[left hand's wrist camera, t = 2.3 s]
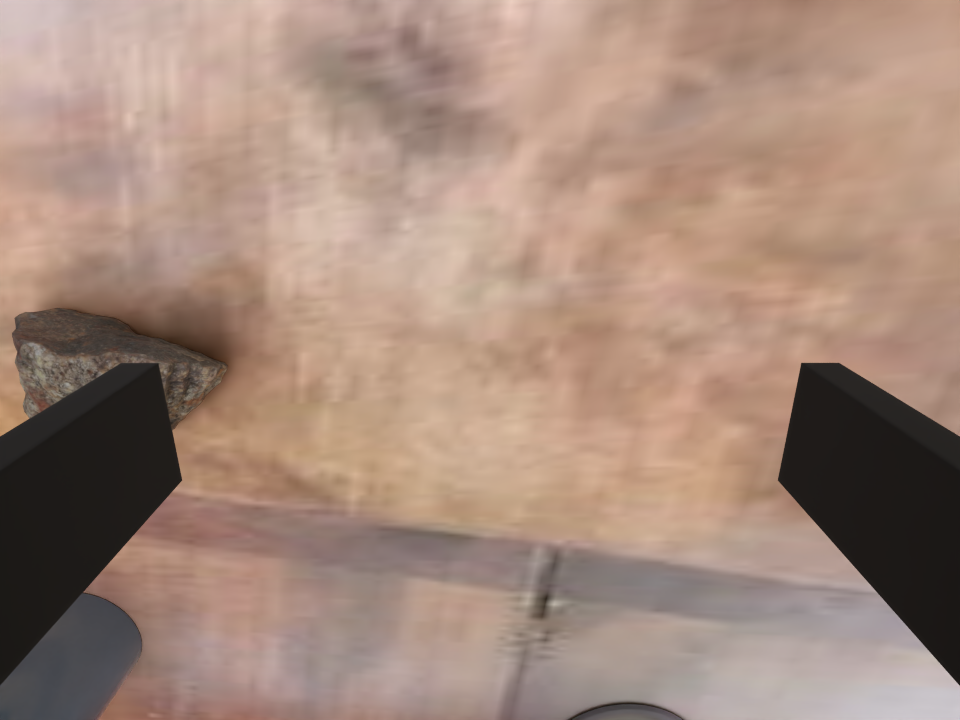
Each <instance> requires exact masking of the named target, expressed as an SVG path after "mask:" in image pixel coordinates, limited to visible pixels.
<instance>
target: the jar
mask: <svg viewBox="0 0 960 720" xmlns="http://www.w3.org/2000/svg"><path fill="white" fill-rule="evenodd" d="M141 650H142V641H141V636H140V633H139V631H138V629H137V627H136V625H135V623H134V622H133V621H132V620H131V618H130V617H129V616H128V615H127V614H126V613H125V612H124V611H122V610H121V609H120V608H119V607H117V606H116V605H114V604H112V603H111V602H109V601H107V600H105V599H102V598H100V597H97V596H94V595H90V594H85V593H82V594H81V595H80V596H79V597H78V598H77V599H76V601H75V602H74V603H73V604H72V605H71V606H70V607H69V608H68V610H67V611H66V612H65V613H64V614H63V615H62V616H61V618H60V619H59V620H58V621H57V622H56V623H55V624H54V625H53V627H52V628H51V629H50V630H49V631H48V632H47V633H46V634H45V636H44V637H43V638H42V639H41V640H40V641H39V642H38V643H37V645H36V646H35V647H34V648H33V649H32V650H31V651H30V652H29V654H28V655H27V656H26V657H25V658H24V659H23V660H22V662H21V663H20V664H19V665H18V666H17V667H16V668H15V669H14V671H13V672H12V673H11V674H10V675H9V676H8V677H7V678H6V680H5V681H4V682H3V683H2V684H1V685H0V720H99V719H100V717H101V716H102V714H103V713H104V711H105V710H106V708H107V707H108V705H109V704H110V702H111V701H112V699H113V698H114V696H115V695H116V693H117V692H118V690H119V689H120V687H121V686H122V684H123V683H124V681H125V680H126V678H127V677H128V675H129V674H130V672H131V671H132V669H133V667H134V666H135V664H136V663H137V661H138V659H139V657H140V654H141Z"/></svg>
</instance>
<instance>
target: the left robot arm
mask: <svg viewBox="0 0 960 720" xmlns="http://www.w3.org/2000/svg"><path fill="white" fill-rule="evenodd" d="M181 481H182V478H181V473H180V468H179V463H178V458H177V453H176V448H175V443H174V438H173V433H172V428H171V423H170V418H169V413H168V408H167V403H166V398H165V393H164V388H163V383H162V378H161V373H160V368H159V363H120V364H119V365H117V366H115V367H114V368H112V369H110V370H109V371H107V372H105V373H104V374H102V375H101V376H99V377H97V378H96V379H94V380H92V381H91V382H89V383H87V384H86V385H84V386H82V387H81V388H79V389H78V390H76V391H74V392H73V393H71V394H69V395H68V396H66V397H64V398H63V399H61V400H60V401H58V402H56V403H55V404H53V405H51V406H50V407H48V408H46V409H45V410H43V411H42V412H40V413H38V414H37V415H35V416H33V417H32V418H30V419H28V420H27V421H25V422H23V423H22V424H20V425H19V426H17V427H15V428H14V429H12V430H10V431H9V432H7V433H5V434H4V435H2V436H1V437H0V685H1V684H2V683H3V682H4V681H5V680H6V678H7V677H8V676H9V675H10V674H11V673H12V672H13V671H14V669H15V668H16V667H17V666H18V665H19V664H20V663H21V662H22V660H23V659H24V658H25V657H26V656H27V655H28V654H29V652H30V651H31V650H32V649H33V648H34V647H35V646H36V645H37V643H38V642H39V641H40V640H41V639H42V638H43V637H44V636H45V634H46V633H47V632H48V631H49V630H50V629H51V628H52V627H53V625H54V624H55V623H56V622H57V621H58V620H59V619H60V618H61V616H62V615H63V614H64V613H65V612H66V611H67V610H68V608H69V607H70V606H71V605H72V604H73V603H74V602H75V601H76V599H77V598H78V597H79V596H80V595H81V594H82V593H83V592H84V590H85V589H86V588H87V587H88V586H89V585H90V584H91V583H92V581H93V580H94V579H95V578H96V577H97V576H98V575H99V573H100V572H101V571H102V570H103V569H104V568H105V567H106V566H107V564H108V563H109V562H110V561H111V560H112V559H113V558H114V557H115V555H116V554H117V553H118V552H119V551H120V550H121V549H122V548H123V546H124V545H125V544H126V543H127V542H128V541H129V540H130V538H131V537H132V536H133V535H134V534H135V533H136V532H137V531H138V529H139V528H140V527H141V526H142V525H143V524H144V523H145V522H146V520H147V519H148V518H149V517H150V516H151V515H152V514H153V513H154V511H155V510H156V509H157V508H158V507H159V506H160V505H161V504H162V502H163V501H164V500H165V499H166V498H167V497H168V496H169V494H170V493H171V492H172V491H173V490H174V489H175V488H176V487H177V485H178V484H179V483H180V482H181ZM778 481H779V482H780V483H781V484H782V485H783V487H784V488H785V489H786V490H787V491H788V492H789V493H790V494H791V496H792V497H793V498H794V499H795V500H796V501H797V502H798V504H799V505H800V506H801V507H802V508H803V509H804V510H805V511H806V513H807V514H808V515H809V516H810V517H811V518H812V519H813V520H814V522H815V523H816V524H817V525H818V526H819V527H820V528H821V529H822V531H823V532H824V533H825V534H826V535H827V536H828V537H829V538H830V540H831V541H832V542H833V543H834V544H835V545H836V546H837V548H838V549H839V550H840V551H841V552H842V553H843V554H844V555H845V557H846V558H847V559H848V560H849V561H850V562H851V563H852V564H853V566H854V567H855V568H856V569H857V570H858V571H859V572H860V573H861V575H862V576H863V577H864V578H865V579H866V580H867V581H868V583H869V584H870V585H871V586H872V587H873V588H874V589H875V590H876V592H877V593H878V594H879V595H880V596H881V597H882V598H883V599H884V601H885V602H886V603H887V604H888V605H889V606H890V607H891V608H892V610H893V611H894V612H895V613H896V614H897V615H898V616H899V618H900V619H901V620H902V621H903V622H904V623H905V624H906V625H907V627H908V628H909V629H910V630H911V631H912V632H913V633H914V634H915V636H916V637H917V638H918V639H919V640H920V641H921V642H922V643H923V645H924V646H925V647H926V648H927V649H928V650H929V651H930V652H931V654H932V655H933V656H934V657H935V658H936V659H937V660H938V662H939V663H940V664H941V665H942V666H943V667H944V668H945V669H946V671H947V672H948V673H949V674H950V675H951V676H952V677H953V678H954V680H955V681H956V682H957V683H958V684H959V685H960V437H959V436H958V435H956V434H955V433H953V432H951V431H950V430H948V429H946V428H945V427H943V426H941V425H940V424H938V423H937V422H935V421H933V420H932V419H930V418H928V417H927V416H925V415H923V414H922V413H920V412H918V411H917V410H915V409H914V408H912V407H910V406H909V405H907V404H905V403H904V402H902V401H900V400H899V399H897V398H896V397H894V396H892V395H891V394H889V393H887V392H886V391H884V390H882V389H881V388H879V387H878V386H876V385H874V384H873V383H871V382H869V381H868V380H866V379H864V378H863V377H861V376H859V375H858V374H856V373H855V372H853V371H851V370H850V369H848V368H846V367H845V366H843V365H841V364H840V363H801V368H800V373H799V378H798V383H797V388H796V393H795V398H794V403H793V408H792V413H791V418H790V423H789V428H788V433H787V438H786V443H785V448H784V453H783V458H782V463H781V468H780V473H779V478H778ZM572 720H683V719H681V718H680V717H678V716H676V715H674V714H672V713H670V712H668V711H665V710H663V709H659V708H656V707H652V706H646V705H638V704H620V705H611V706H606V707H601V708H598V709H594V710H591V711H588V712H586V713H584V714H581V715H579V716H577V717H575V718H574V719H572Z"/></svg>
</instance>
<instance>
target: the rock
mask: <svg viewBox="0 0 960 720" xmlns="http://www.w3.org/2000/svg"><path fill="white" fill-rule="evenodd" d="M15 323H16V329H15V331H14V332H13V333H12V337H13V341H14V345H15V348H16V350H17V356H16V360H15V364H16V366H17V369H18V371H19V376H20V383H21V385H22V387H23V389H24V391H25V393H26V395H25V399H24V402H23V407H24V412H25V413H26V414H27V415H28V417H29V418H32V417H33V416H35V415H37V414H38V413H40V412H42V411H43V410H45V409H46V408H48V407H50V406H51V405H53V404H55V403H56V402H58V401H60V400H61V399H63V398H64V397H66V396H68V395H69V394H71V393H73V392H74V391H76V390H78V389H79V388H81V387H82V386H84V385H86V384H87V383H89V382H91V381H92V380H94V379H96V378H97V377H99V376H101V375H102V374H104V373H105V372H107V371H109V370H110V369H112V368H114V367H115V366H117V365H119V364H120V363H159V368H160V373H161V378H162V383H163V388H164V393H165V398H166V403H167V408H168V413H169V418H170V423H171V428H172V430H173V429H175V428H176V426H177V424H178V423H179V422H180V421H181V420H183V419H184V418H185V417H186V415H187V414H188V413H189V412H190V411H191V410H193V409H195V408H196V407H197V406H198V405H199V404H200V403H201V402H202V401H203V399H204V397H205V396H206V395H207V394H208V393H209V392H210V391H211V390H212V389H213V388H214V387H215V386H217V385H218V384H219V383H220V382H221V380H222V377H223V375H224V373H225V372H226V370H227V367H228V366H227V365H226V363H224V362H221V361H217V360H214V359H212V358H209V357H207V356H205V355H204V354H202V353H199V352H195V351H192V350H189V349H188V348H185V347H183V346H180V345H177V344H173V343H169V342H167V341H165V340H163V339H160V338H152V337H147V336H145V335H137V334H135V333H134V332H133V331H132V330H131V328H130V327H129V326H128V325H126V324H124V323H123V322H121V321H119V320H118V319H116V318H110V317H104V316H97V315H92V314H85V313H79V312H78V311H76V310H68V309H60V308H55V309H50V310H45V311H39V312H25V313H22V314H20V315H18V316H17V317H15Z"/></svg>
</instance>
